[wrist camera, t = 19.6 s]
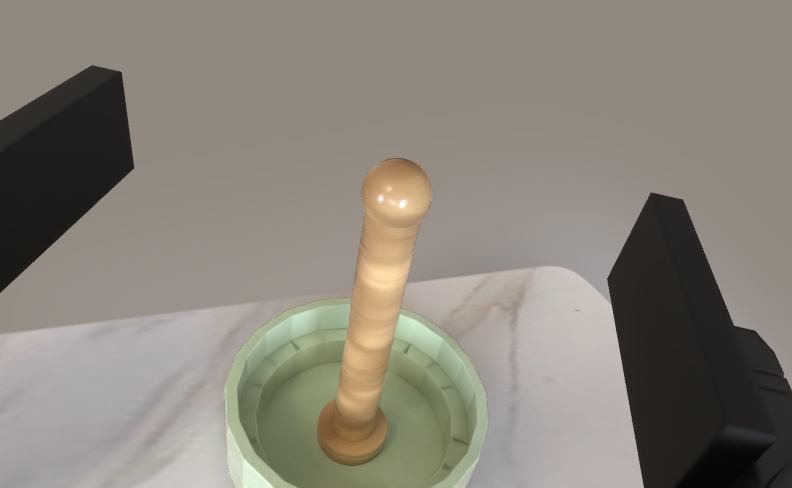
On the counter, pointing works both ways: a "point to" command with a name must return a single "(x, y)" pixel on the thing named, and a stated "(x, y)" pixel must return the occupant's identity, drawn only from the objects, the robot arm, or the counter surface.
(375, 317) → the wooden pestle
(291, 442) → the bowl
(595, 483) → the counter surface
